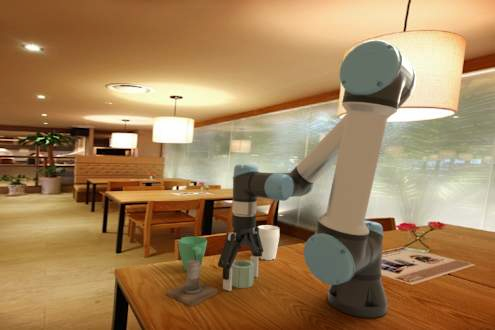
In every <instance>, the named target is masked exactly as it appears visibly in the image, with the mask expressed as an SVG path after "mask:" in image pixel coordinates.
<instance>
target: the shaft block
mask: <svg viewBox="0 0 495 330" xmlns="http://www.w3.org/2000/svg"><path fill="white" fill-rule="evenodd" d="M200 271H201V266H200V261H198V260H190V261H188V262H187V271H186V282H185V283H183V284H180V285H179V286H176V287H173V288H172V289H171V288H170V289H169V290H167V291H166V295H167V296H169V297H171V298H172V299H175V300H176V301H180V302H181V303H184V304H186V305H188V306H190V307H193V306H195V305H197V304H200V303H201V302H203V301H205V300H207V299H209V298H211V297H213V296H215V295H216V294H218V293H219V290H218V289H217V288H216V287H215V288H214V287H212V286H210V285H207V284H204V283H202V282H200V274H201V272H200Z"/></svg>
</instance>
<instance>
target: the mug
mask: <svg viewBox="0 0 495 330" xmlns="http://www.w3.org/2000/svg"><path fill="white" fill-rule="evenodd" d="M207 243H208V239H207V238H206V237H201V236H185V237H181V238H180V239H178V240H177V244H178V252H179V255H180V259H181V263H182V265H183V269H184V270H185V271H186V270H187V262H188V261H190V260H198V261H200V267H201V266H202V263H203V259H204V256H205V253H206V248H207V245H208V244H207Z"/></svg>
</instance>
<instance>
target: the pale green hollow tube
mask: <svg viewBox="0 0 495 330" xmlns="http://www.w3.org/2000/svg"><path fill="white" fill-rule="evenodd" d="M231 268H232V287H233V288H234V287H235V288H236V289H247V288H250V287H252V286H254V284H255V283H254V281H255V279H254V278H255V277H254V264H253V262H251V261H250V260H247V259H234V261H233V263H232V265H231Z"/></svg>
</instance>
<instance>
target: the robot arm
mask: <svg viewBox="0 0 495 330" xmlns="http://www.w3.org/2000/svg"><path fill="white" fill-rule="evenodd" d="M339 80H340V83H341V85H342V87H343V89H344V92H343V98H342V102H341V106H342V107H343V108H344V110H345V112H346V114H345V115H344V116H343V117H341V119H340V120H339V121H338V122H337V123H336V124H335V125H334V126H333V127H332V128H331V130H329V132H327V134H325V136H324V137H323V138H322V139H321V140H320V141H318V143H317V144H316V145H315V146H314V147H313V148H312V149H311V150H310V151H309V152H308V153H307V155H306V156H305V157H304V158H303V159H302V160H301V161H300V162H299V163H298V164H297V165H296V166H295V167H294V168H293V169H292V170H291V171H290V172H260V171H259V167H258V165H254V164H236V165H235V166H234V167H233V168H234V169H233V176H232V183H233V184H232V211H231V212H232V213H233V214H232V215H231V227H232V228H233V232H232V233H231V232H226V234H225V241H224V244H223V247H222V250H221V252H220V253H221V254H220V256H219V259H218V263H217V267H219V268H221V269H222V279H223V280H222V289H223V290H225V291H229V292H231V291H232V289H233V288H232V287H233V286H232V268H231V265H232V263H233V261H235V260H236V257H237V255H238V253H239V250H240V249H242V247H243V246H245V245H247V247H248V248H249V250H250V253H251V255H250V260H249V261H251V262H253V264H254V278H258V277H259V264H260V263H259V262H260V258H259V256H260V257H261V256H262V253H263V247H262V243H261V240H260V236H259V228H258V226H256V225H257V216H256V214H257V208H258V207H257V205H258V201H257V200H258V198H261V199H267V200H273V201H277V202H278V201H287V200H289V199H290V198H293V197H295V198H296V197H303V196H306V195H308V194H310V193H311V192H312V190H313V187H314V184H315V183H316V181H318V180H319V179H320V178H321V177H322V176H323V175H324V174H325V173H326V172H327V171H328V170H329V169H330V168H331V167H332V166H334V164H335V170H334V174H333V179H332V183H331V188H330V192H329V193H330V194H329V198H328V203H327V207H326V212H325V213H324V214H322V215H320V216H318V219H317V222H316V223H317V224H316V228H315V233H314V234H313V235H311V236H310V237H309V238H308V239H307V240H306V242H305V243H304V247H303V257H304V262H305V264H306V266H307V267H308V269H309V271H310V273H311V274H312V276H313V277H315V278H316V279H318V280H319V281H321V282H323V284H327V285H329V287H328V291H327V293H328V294H327V300H328V302H329V304H330V305H331V306H332V307H333V308H335V310H338V311H339V312H342V313H345V314H348V315H350V316H354V317H360V318H367V319H368V318H370V319H371V318H373V319H374V318H379V317H383V316H384V315H386V314H387V311H388V299H387V295H386V293H385V288H384V285H383V281H382V263H383V247H384V245H383V242H384V228H383V226H382V225H383V224H381V223H379V222H376V221H371V220H366V215H367V211H368V205H369V202H370V197H371V193H372V187H373V183H374V179H375V176H376V175H375V174H376V171H377V167H378V162H379V158H380V154H381V149H382V145H383V142H384V141H383V140H384V136H385V131H386V126H387V122H388V119H389V118H390V117H391V116H393V115H395V114H396V113H397V111H398V110H399V108H401V107H402V105H404V103H406V102H407V100H408V99H409V98H410V96H411V95H412V93H413V92H414V89H415V87H416V82H417V75H416V71H415V68H414V66H413V65H412V63H411V62H410V61H408V60H407V59H406V57H405V56H404V55H403V54H402V53H401V51H400V49H399V48H398V47H396V46H395V45H393V44H391V43H389V42H388V41H386V40H382V39H381V40H380V39H372V40H367V41H365V42H362V43H360V44H358V45H356V46H355V47H354V48H353V49H352V50H350V51H349V52H348V54H347V55H346V56H345V57H344V59H343V60H342V63H341V65H340V68H339Z"/></svg>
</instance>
